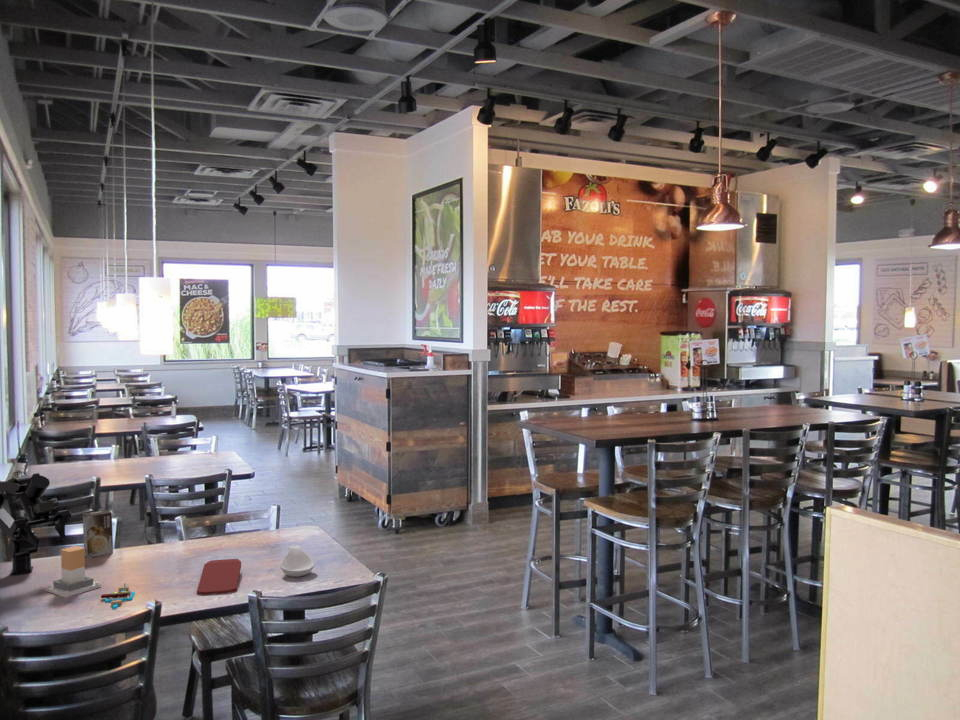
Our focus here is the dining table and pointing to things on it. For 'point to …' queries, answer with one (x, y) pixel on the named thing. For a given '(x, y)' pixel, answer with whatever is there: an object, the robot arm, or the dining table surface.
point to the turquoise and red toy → (121, 594)
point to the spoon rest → (296, 562)
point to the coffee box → (97, 533)
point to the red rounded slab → (219, 577)
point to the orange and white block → (73, 565)
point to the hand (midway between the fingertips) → (50, 542)
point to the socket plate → (72, 587)
